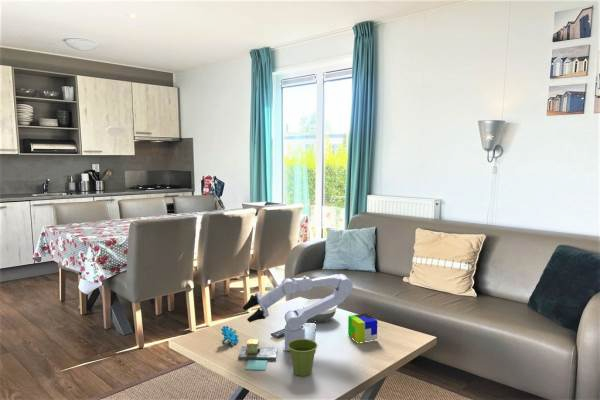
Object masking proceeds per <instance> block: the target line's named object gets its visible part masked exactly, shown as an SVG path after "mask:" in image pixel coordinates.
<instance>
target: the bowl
mask: <svg viewBox="0 0 600 400" xmlns="http://www.w3.org/2000/svg"><path fill="white" fill-rule="evenodd" d="M321 299H322V298H313V299H307V300H305V301H303V303H302V309H303V308H305V307H307V306H309V305H311V304H313V303H315V302H317V301H319V300H321ZM337 308H338V305H336V306H334V307H332V308H330V309H328V310H326V311H324V312H322V313H320V314H318V315H316V316H314V317H312V318H310V319H309V320H311V321H312V320H313V322H314V321H316V322H315V323H325V321H326V322H327V321H329V320H331V319H332V318H333V317H334V316H335V314H336V312H337V311H336V310H337Z"/></svg>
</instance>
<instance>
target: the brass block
mask: <svg viewBox="0 0 600 400" xmlns="http://www.w3.org/2000/svg"><path fill="white" fill-rule="evenodd" d="M259 340H260V339H257V338H256V339H253V338H252V339H251V338H250V339H247V342H246V346H247V353H246V355H259V347H260V345H259V344H260V343H259V342H260V341H259Z"/></svg>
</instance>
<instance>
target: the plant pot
mask: <svg viewBox="0 0 600 400" xmlns="http://www.w3.org/2000/svg"><path fill="white" fill-rule="evenodd" d="M318 346H319V345H318V343H317V342H316V341H313V340H311V339H309V338H308V339H307V338H305V339H296V340H293V341H291V342H289V343H288V347H289V349H290V351H289V354H290V358H291V363H292V364H291V365H292V368H293V369H292V370H293V374H295V375H296V376H301V377H305V376H309V375H311V373H312V371H313V364H314V358H315V354H316V352H317V349H318Z"/></svg>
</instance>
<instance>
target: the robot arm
mask: <svg viewBox="0 0 600 400" xmlns="http://www.w3.org/2000/svg"><path fill="white" fill-rule="evenodd" d="M353 284H354V283H353V282H352V280H351V279H350V278H348V277H347V275H346V274H344V273H339V274H338V273H337V274H336V273H335V274H332V275H327V276H322V277H316V278H310V276H307V275H303V276H302V277H299V278H295V277H292V279H291V278H284V279H283V280H282V281H281V283H280V284H278V285H277V286H275V287H273V288H272V289H271V290H269V291H268V292H267V293H265V294H264V295H261V293H259V291H257V292H255V293H254V294H252V295H250V298H249V299H248V301H247V302H246V303H245V304H244V305H243V307H242V309H243V310H244V312H246V311H249V310H250V309H251V308H253V307H255V306H258V305H259V308H257V309H256V311H255V312H254V313H253V314H251V315H250V316H249V317H248V318H247V319H246V320H247V322H248V323H252V322H256V321H258V320H259V321H260V320H265V319H266V318H267V317H269V316H270V314H269V310H268V309H269V308H270V307H272V306H273V305H274V304H277V303H278V302H279V301H280V300H282V299H283V298H285V297H286V296H288V295H293V294H295V292H303V291H304V292H305V291H309V290H311V289H312V288H313V287H321V286H331V287H332V288H334V290H333V293H331V294H330V295H327V296H325V297H324V298H320V299H321V300H319V301H317V302H315V303H313V304H311V305H309V306H307V307H305V308H303V307H302V308H297V309H293V310H288V311H286V313H285V314H284V321H285V323H286V324H285V325H284V341H283V349H282V350H283V351H289V352H290V349H289V347H288V343H289V342H291V341H293V340H296V339H306V327H302V326H303V325H305V324H306V322H307V321H308V320H311V319H310V318H312V317H314V316H316V315H318V314H320V313H322V312H324V311H326V310H328V309H330V308H332V307H334V306H336V305H337V306H338V305H340V304H342V303H344V301H345V300H346V299H347V297H348V296H349V295H350V294H351V293H352V291H353Z"/></svg>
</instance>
